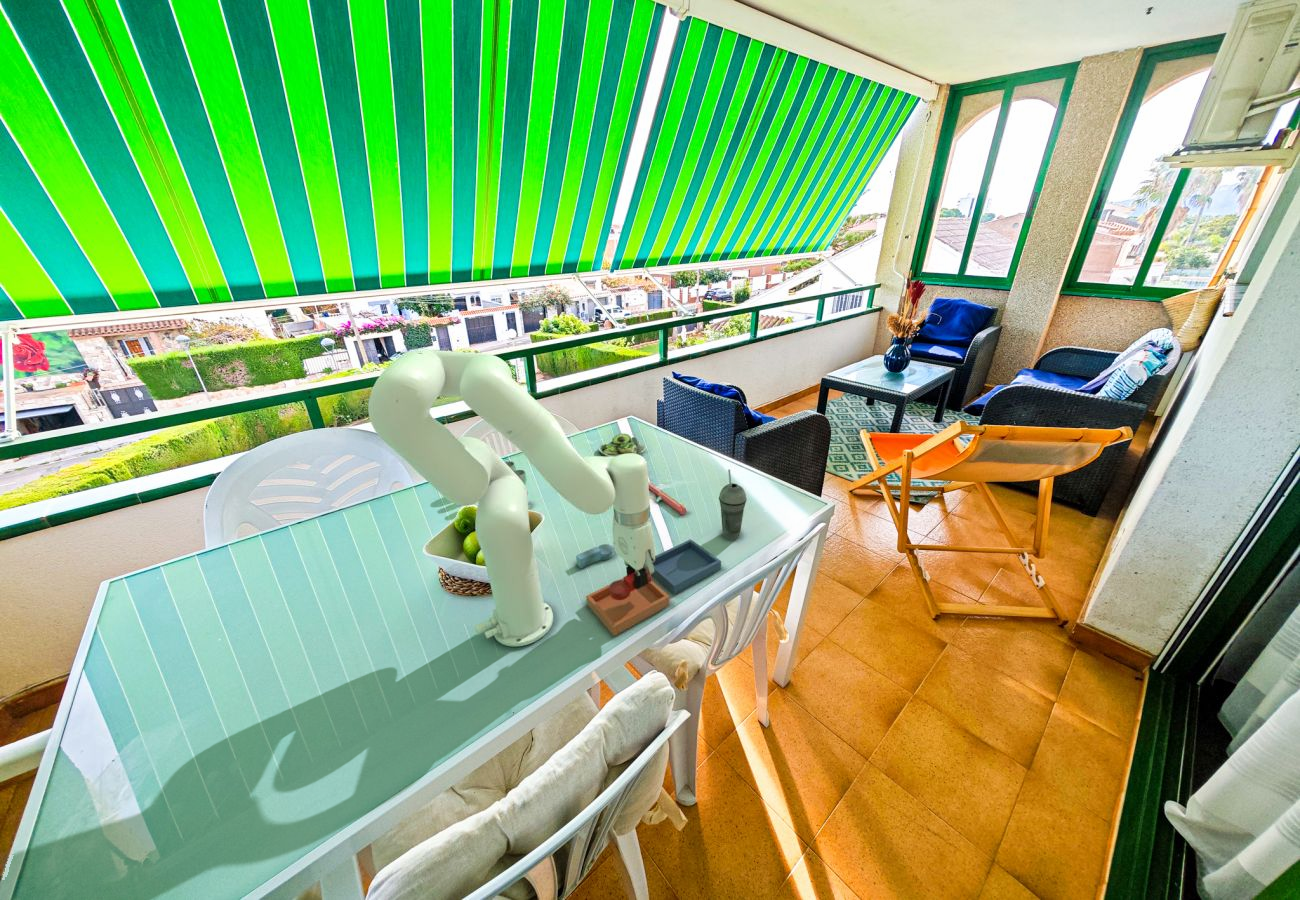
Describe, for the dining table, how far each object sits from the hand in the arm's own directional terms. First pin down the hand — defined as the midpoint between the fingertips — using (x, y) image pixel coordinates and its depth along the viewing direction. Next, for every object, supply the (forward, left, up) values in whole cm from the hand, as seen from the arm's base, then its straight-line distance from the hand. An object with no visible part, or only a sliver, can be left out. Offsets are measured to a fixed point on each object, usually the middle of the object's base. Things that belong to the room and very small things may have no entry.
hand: (637, 582), depth 102 cm
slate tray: (+15, +2, -5) cm, 16 cm away
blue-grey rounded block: (-1, +19, -5) cm, 20 cm away
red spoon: (-1, 0, -1) cm, 2 cm away
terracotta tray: (-3, 0, -5) cm, 6 cm away
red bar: (+31, +33, -5) cm, 46 cm away
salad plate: (+41, +72, -5) cm, 83 cm away
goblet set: (-8, +68, -5) cm, 68 cm away
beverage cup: (+34, +5, -5) cm, 35 cm away
